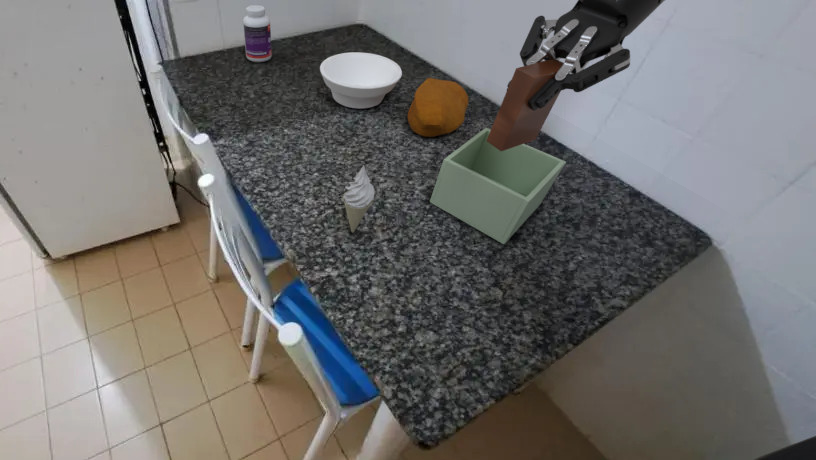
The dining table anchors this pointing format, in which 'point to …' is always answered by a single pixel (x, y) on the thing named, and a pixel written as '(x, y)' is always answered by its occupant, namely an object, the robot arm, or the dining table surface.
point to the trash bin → (494, 185)
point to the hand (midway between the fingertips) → (520, 100)
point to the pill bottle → (257, 34)
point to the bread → (437, 108)
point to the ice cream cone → (358, 198)
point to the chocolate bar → (523, 106)
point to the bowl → (360, 78)
